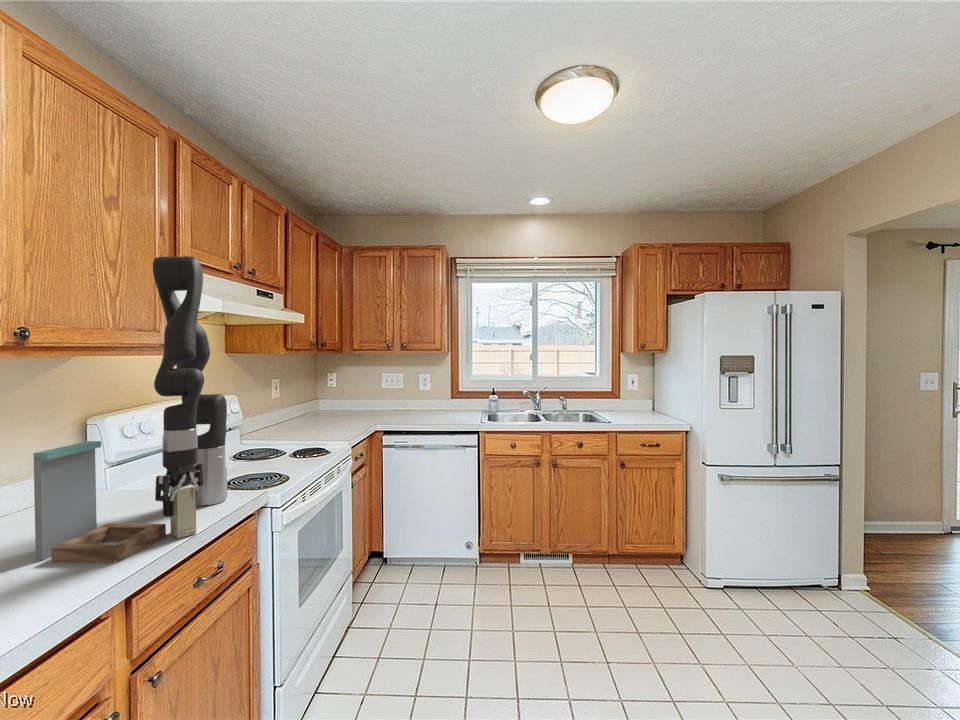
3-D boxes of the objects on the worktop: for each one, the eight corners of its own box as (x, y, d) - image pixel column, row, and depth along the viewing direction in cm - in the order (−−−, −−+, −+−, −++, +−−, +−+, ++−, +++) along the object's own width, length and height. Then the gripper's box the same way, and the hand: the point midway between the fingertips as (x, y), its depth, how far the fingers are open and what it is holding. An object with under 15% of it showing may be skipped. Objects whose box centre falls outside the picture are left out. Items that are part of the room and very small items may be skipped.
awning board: (90, 535, 117) (88, 441, 117) (102, 535, 117) (101, 441, 117) (35, 560, 103) (33, 453, 103) (49, 560, 103) (47, 453, 103)
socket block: (108, 535, 118) (107, 523, 118) (165, 535, 117) (165, 523, 117) (51, 561, 103) (51, 548, 103) (117, 562, 102) (117, 549, 102)
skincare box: (197, 534, 118) (196, 486, 118) (177, 539, 115) (176, 490, 115) (188, 527, 122) (188, 481, 122) (169, 532, 119) (169, 485, 119)
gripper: (185, 441, 125) (185, 501, 125) (144, 452, 111) (145, 520, 111) (212, 441, 125) (212, 502, 125) (174, 452, 111) (175, 520, 111)
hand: (180, 510), depth 118 cm, fingers open, 8 cm apart
